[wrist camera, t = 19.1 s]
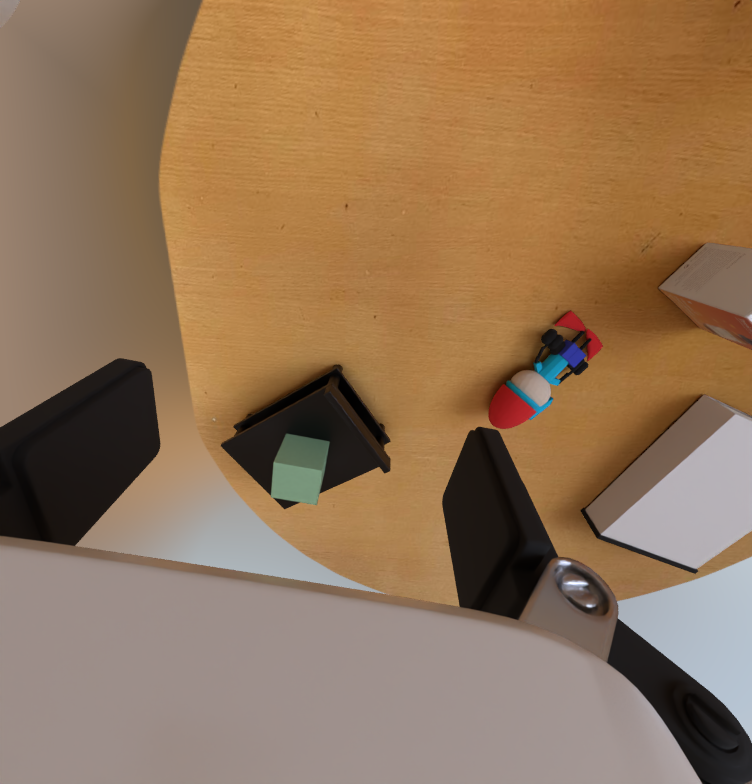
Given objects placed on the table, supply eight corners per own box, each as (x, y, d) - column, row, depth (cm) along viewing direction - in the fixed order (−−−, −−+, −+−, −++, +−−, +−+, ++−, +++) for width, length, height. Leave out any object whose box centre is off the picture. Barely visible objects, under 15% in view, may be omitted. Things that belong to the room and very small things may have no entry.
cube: (283, 466, 42) (270, 497, 38) (286, 433, 40) (273, 462, 35) (324, 473, 42) (316, 505, 38) (329, 441, 40) (322, 470, 36)
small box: (655, 287, 37) (743, 316, 28) (706, 240, 35) (821, 255, 25) (699, 330, 39) (795, 370, 30) (750, 288, 37) (871, 318, 28)
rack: (296, 474, 51) (281, 519, 44) (240, 415, 47) (214, 454, 40) (390, 429, 47) (390, 471, 40) (339, 358, 42) (329, 391, 35)
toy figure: (556, 303, 40) (465, 400, 43) (586, 312, 35) (481, 419, 39) (593, 342, 42) (504, 431, 46) (624, 355, 38) (523, 452, 41)
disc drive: (579, 511, 53) (596, 539, 49) (701, 392, 43) (736, 414, 38) (670, 544, 56) (694, 574, 52) (805, 441, 46) (849, 467, 41)
